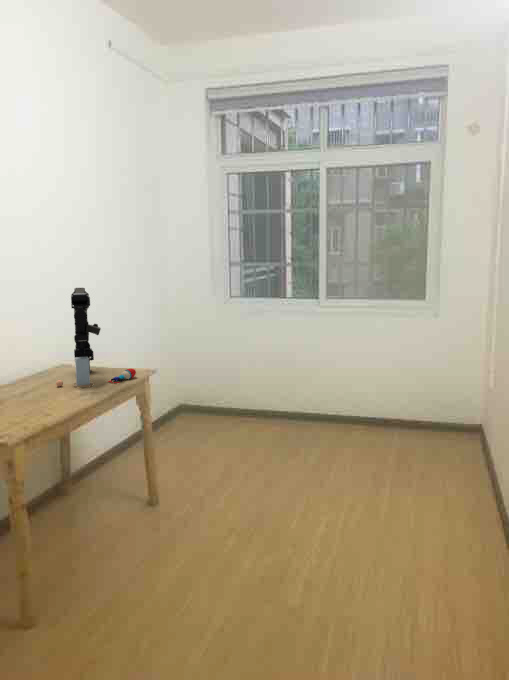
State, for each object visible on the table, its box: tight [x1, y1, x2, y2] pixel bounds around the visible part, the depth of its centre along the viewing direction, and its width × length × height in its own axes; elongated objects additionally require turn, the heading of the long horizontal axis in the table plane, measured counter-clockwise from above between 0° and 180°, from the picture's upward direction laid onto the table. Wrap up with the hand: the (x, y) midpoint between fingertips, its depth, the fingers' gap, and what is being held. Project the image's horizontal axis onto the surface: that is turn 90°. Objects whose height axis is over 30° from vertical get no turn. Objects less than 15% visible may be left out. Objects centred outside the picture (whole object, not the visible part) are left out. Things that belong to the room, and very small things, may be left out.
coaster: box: [72, 381, 94, 388], centre depth 251 cm, size 9×9×1 cm
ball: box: [55, 379, 64, 388], centre depth 248 cm, size 3×3×3 cm
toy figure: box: [107, 368, 137, 384], centre depth 260 cm, size 8×5×15 cm
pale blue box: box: [74, 356, 91, 386], centre depth 250 cm, size 5×6×12 cm
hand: (82, 352), depth 258 cm, fingers open, 9 cm apart
